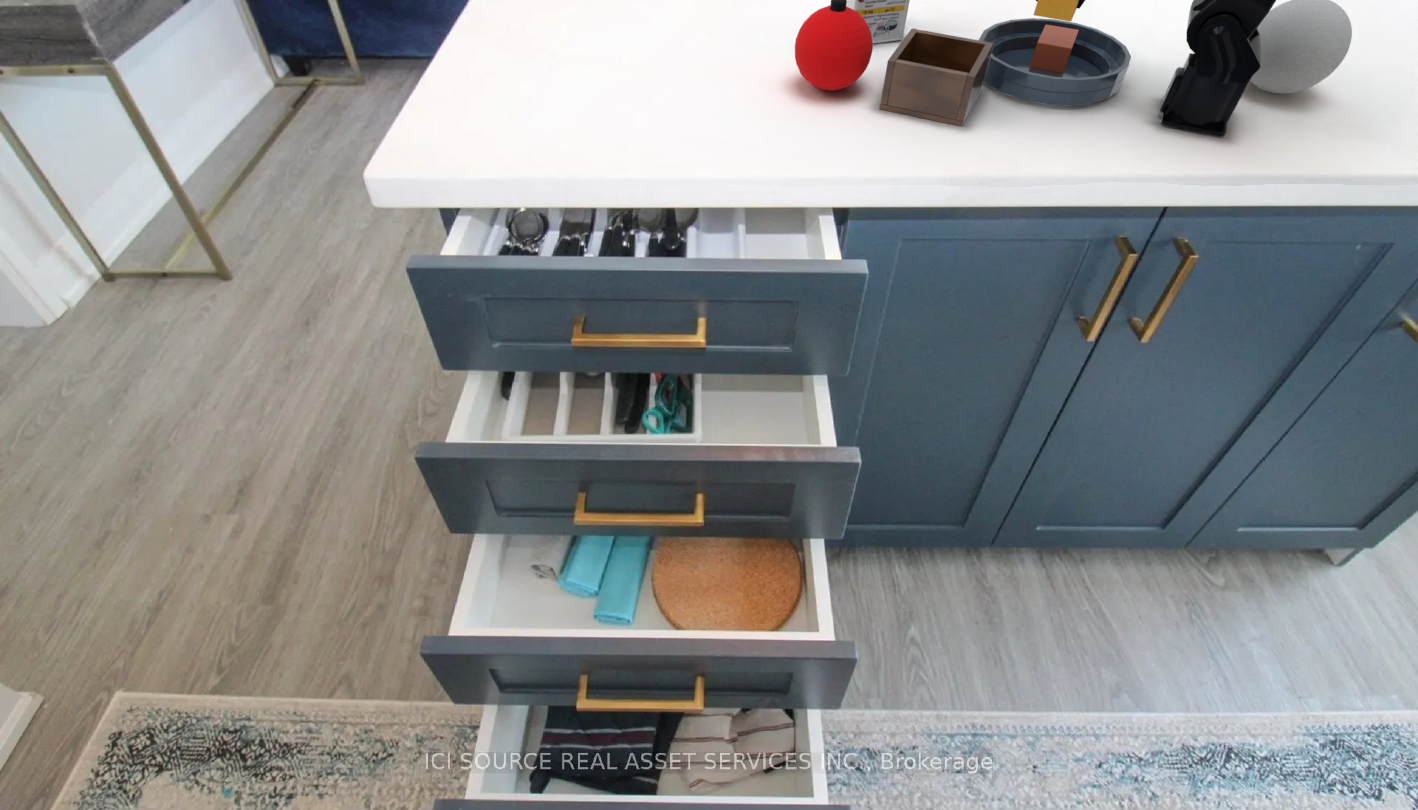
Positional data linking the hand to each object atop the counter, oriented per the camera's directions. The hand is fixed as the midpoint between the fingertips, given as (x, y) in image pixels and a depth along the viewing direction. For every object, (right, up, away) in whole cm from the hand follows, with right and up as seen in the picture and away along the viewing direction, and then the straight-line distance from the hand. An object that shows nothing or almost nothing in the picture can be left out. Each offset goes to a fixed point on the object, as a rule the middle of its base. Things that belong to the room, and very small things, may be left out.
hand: (1058, 3), depth 83 cm
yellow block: (0, 0, 0) cm, 0 cm away
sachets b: (+4, -1, +11) cm, 12 cm away
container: (-18, +6, +18) cm, 26 cm away
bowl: (+3, -4, +9) cm, 10 cm away
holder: (-13, -8, +5) cm, 16 cm away
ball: (+29, -7, +7) cm, 30 cm away
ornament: (-24, -6, +8) cm, 26 cm away
